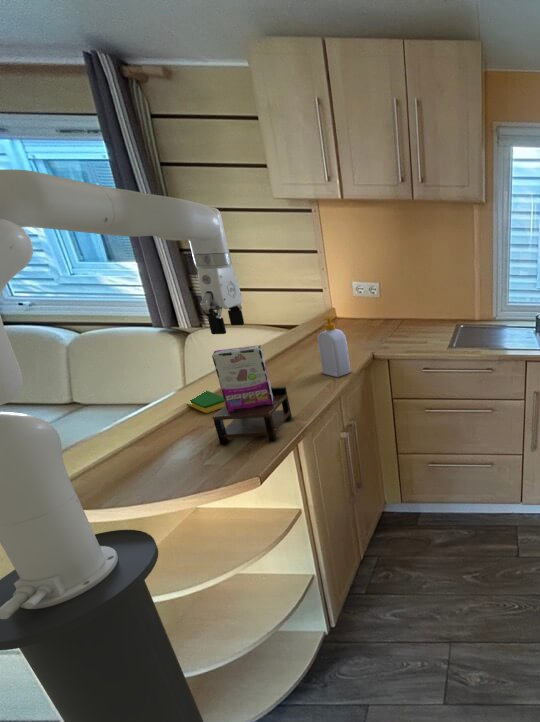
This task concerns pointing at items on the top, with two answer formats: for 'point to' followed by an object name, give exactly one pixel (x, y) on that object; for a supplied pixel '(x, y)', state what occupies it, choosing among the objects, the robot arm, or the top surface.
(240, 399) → the candy bar box
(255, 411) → the rack
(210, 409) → the dish sponge
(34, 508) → the robot arm
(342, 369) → the soap bottle
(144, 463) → the top surface
